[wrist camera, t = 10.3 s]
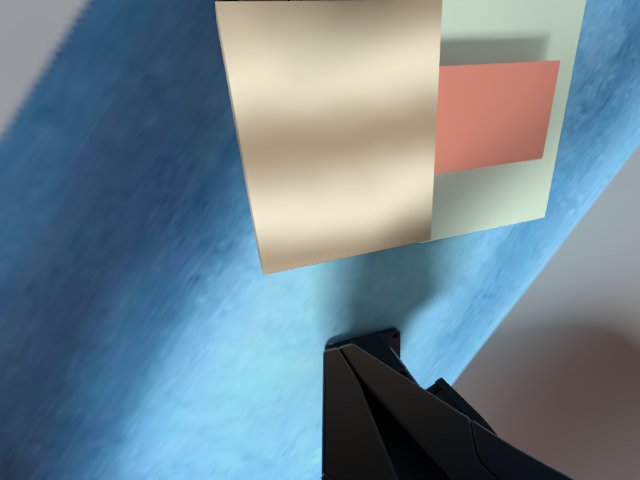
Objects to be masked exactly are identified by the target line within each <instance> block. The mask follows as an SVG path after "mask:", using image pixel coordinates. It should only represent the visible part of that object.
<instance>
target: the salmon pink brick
mask: <svg viewBox="0 0 640 480" xmlns="http://www.w3.org/2000/svg"><path fill="white" fill-rule="evenodd" d="M559 66H560V60H556V61H536V62H517V63H497V64H477V65H458V66H439V81H438V101H437V122H436V142H435V162H434V174H438V173H445V172H452V171H459V170H466V169H473V168H480V167H487V166H494V165H501V164H508V163H515V162H522V161H529V160H536V159H542V158H543V152H544V147H545V141H546V136H547V131H548V125H549V120H550V114H551V109H552V104H553V98H554V93H555V87H556V82H557V77H558V71H559Z"/></svg>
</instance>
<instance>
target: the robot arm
mask: <svg viewBox="0 0 640 480" xmlns="http://www.w3.org/2000/svg"><path fill="white" fill-rule="evenodd" d="M393 334H394V335H393ZM321 480H574V479H572V478H570V477H569V476H567V475H565V474H563V473H561V472H559V471H557V470H556V469H554V468H552V467H550V466H548V465H546V464H545V463H543V462H541V461H539V460H537V459H536V458H534V457H532V456H530V455H529V454H527V453H525V452H523V451H521V450H520V449H518V448H516V447H514V446H513V445H511V444H510V443H508V442H506V441H505V440H503V439H501V438H500V437H498V436H497V434H496V433H495V432H494V431H493V429H492V428H491V427H490V426H489V425H488V423H487V422H486V421H485V420H484V419H483V418H482V417H481V416H480V415H479V414H478V413H477V412H476V411H475V410H474V409H473V408H472V407H471V406H470V405H469V404H468V403H467V402H466V401H465V400H464V399H463V398H462V397H461V396H460V395H459V394H458V393H457V392H456V391H455V390H454V389H453V388H452V387H451V386H450V385H449V384H448V383H447V382H446V381H445V380H444V379H443V378H442V377H441V378H439V379H438V380H437V381H435V384H433V385H432V386H430V387H429V388H427V389H426V390H425V389H423V388H421V387H420V386H419V384H418V383H417V382H416V380H415V379H414V378H413V376H412V375H411V374H410V372H409V371H408V370H407V368H406V366H405V365H404V364H403V362H402V361H401V360H400V332H399V331H398V330H397V328H391V329H387V330H384V331H380V332H376V333H373V334H369V335H366V336H362V337H358V338H355V339H351V340H347V341H344V342H340V343H337V344H333V345H330V346H328V347H327V348H326V349H325V351H324V352H323V409H322V478H321Z"/></svg>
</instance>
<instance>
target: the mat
mask: <svg viewBox="0 0 640 480" xmlns="http://www.w3.org/2000/svg"><path fill="white" fill-rule="evenodd" d="M585 5H586V0H442V20H441V41H440V61H439V66H458V65H477V64H497V63H517V62H536V61H556V60H560V66H559V71H558V77H557V82H556V87H555V93H554V98H553V104H552V109H551V114H550V120H549V125H548V131H547V136H546V141H545V147H544V152H543V158H542V159H536V160H529V161H522V162H515V163H508V164H501V165H494V166H487V167H480V168H473V169H466V170H459V171H452V172H445V173H438V174H434V183H433V203H432V223H431V240H427V241H423V242H418V243H420V244H421V243H425V242H430V241H435V240H440V239H444V238H449V237H454V236H458V235H463V234H468V233H473V232H477V231H482V230H487V229H491V228H496V227H501V226H506V225H510V224H515V223H520V222H524V221H529V220H534V219H539V218H543V217H545V212H546V207H547V202H548V197H549V191H550V186H551V181H552V176H553V171H554V165H555V160H556V155H557V150H558V145H559V140H560V134H561V129H562V124H563V119H564V114H565V108H566V103H567V98H568V93H569V88H570V82H571V77H572V72H573V67H574V62H575V57H576V51H577V46H578V41H579V36H580V31H581V25H582V20H583V15H584V10H585Z"/></svg>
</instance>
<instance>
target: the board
mask: <svg viewBox="0 0 640 480" xmlns="http://www.w3.org/2000/svg"><path fill="white" fill-rule="evenodd" d="M215 7H216V21H217V28H218V33H219V39H220V44H221V50H222V55H223V61H224V67H225V72H226V78H227V83H228V89H229V94H230V100H231V105H232V111H233V117H234V122H235V128H236V133H237V139H238V144H239V150H240V155H241V161H242V167H243V172H244V178H245V183H246V189H247V194H248V200H249V205H250V211H251V217H252V222H253V228H254V233H255V239H256V244H257V250H258V255H259V259H260V263H261V267H262V270H263V274H264V275H266V274H271V273H275V272H280V271H285V270H290V269H294V268H299V267H304V266H309V265H313V264H318V263H323V262H328V261H332V260H337V259H342V258H347V257H351V256H356V255H361V254H366V253H370V252H375V251H380V250H385V249H389V248H394V247H399V246H404V245H408V244H413V243H418V242H423V241H427V240H431V223H432V203H433V183H434V162H435V142H436V122H437V101H438V81H439V61H440V41H441V20H442V0H343V1H215Z"/></svg>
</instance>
